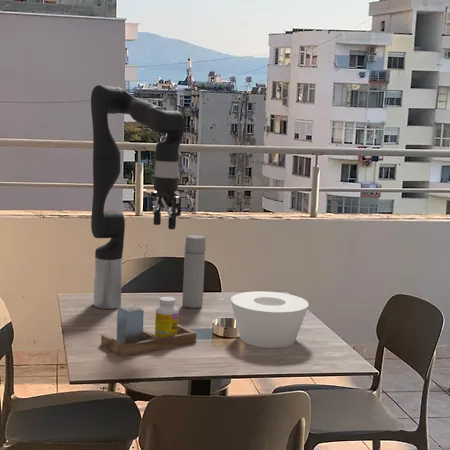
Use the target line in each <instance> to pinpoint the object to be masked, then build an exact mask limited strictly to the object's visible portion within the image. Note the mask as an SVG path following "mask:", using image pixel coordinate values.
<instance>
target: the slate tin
mask: <svg viewBox="0 0 450 450" xmlns="http://www.w3.org/2000/svg"><path fill="white" fill-rule="evenodd" d="M116 310H117V311H116V315H117V316H116V341H118V342H120V343H121V344H128V343H134V342H139V341H143V329H144V313H145V312H144V311H145V310H144V309H142V307H140V306H137V305H136V304H126V305H121V306H120V307H118V308H116Z"/></svg>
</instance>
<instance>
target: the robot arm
mask: <svg viewBox="0 0 450 450" xmlns="http://www.w3.org/2000/svg"><path fill="white" fill-rule="evenodd" d="M90 110H91V111H90V112H91V121H92V122H91V123H92V135H93V136H92V180H93V181H92V183H93V184H92V187H93V188H92V204H91V206H92V207H91V219H90V226H91V228H90V229H91V230H90V231H91V234H92V236H93V238H95V239H110V240H108V242H106V243H105V244H103V245H101V246H98V247H97V248H95V252H94V257H95V258H94V278H93V305H94V308H97V309H104V310H113V309H117V308H120V306H122V284H123V283H122V282H123V281H122V278H123V277H122V276H123V253H124V241H125V228H126V219H125V215H124V213H123V212H122V211H120V210H105V204H106V200H107V197H108V195H109V193H110V192H111V190H112V188H113V187H114V185H115V183H116V182H117V180H118V178H119V176H120V174H121V151H120V148H119V147H118V144H117V142H116V141H115V139H114V137H113V135H112V133H111V129H110V127H109V121H108V120H109V119H108V114H111V115H113V114H114V115H115V114H124V115H130V117H131V118H132V120H134V121H135V122H137V123H139V124H140V125H141V124H142V125H143V126H147V127H148V128H149V129H150V130H151V131H152V132H155V133H158V134H162V135H165V134H166V137H165V139H164V140H161V141H158V142H157V143H156V146H155V161H154V168H153V169H154V173H153V191H151V192H150V198H149V210H150V211H152V214H153V225H154V226H160V225H161V223H162V221H161V219H162V218H161V217H162V213H161V212H162V210H163V209H164V210H165V211H166V212H167V215H168V223H167V226H168V227H167V228H168V230H175V229H176V226H177V225H176V223H177V221H176V220H177V217H181V215H182V204H181V203H182V198H181V196H176V195H175V192H178V190H179V150H180V149H179V148H180V145H181V141H182V138H183V136H184V133H185V129H186V128H185V127H186V119H185V117H184V115H183V113H182V112H181V111H178V110H163V109H162V108H160V107H159V105H156V104H153V103H150V102H148V101H144V100H142V99H139V98H137V97H136V96H134V95H132V94H130V93H129V92H128V91H127V90H125V89H123V88H121V87H120V86H115V85H107V84H106V85H103V84H97V85H96V86H94V87H93V89H92V91H91V95H90Z"/></svg>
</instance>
